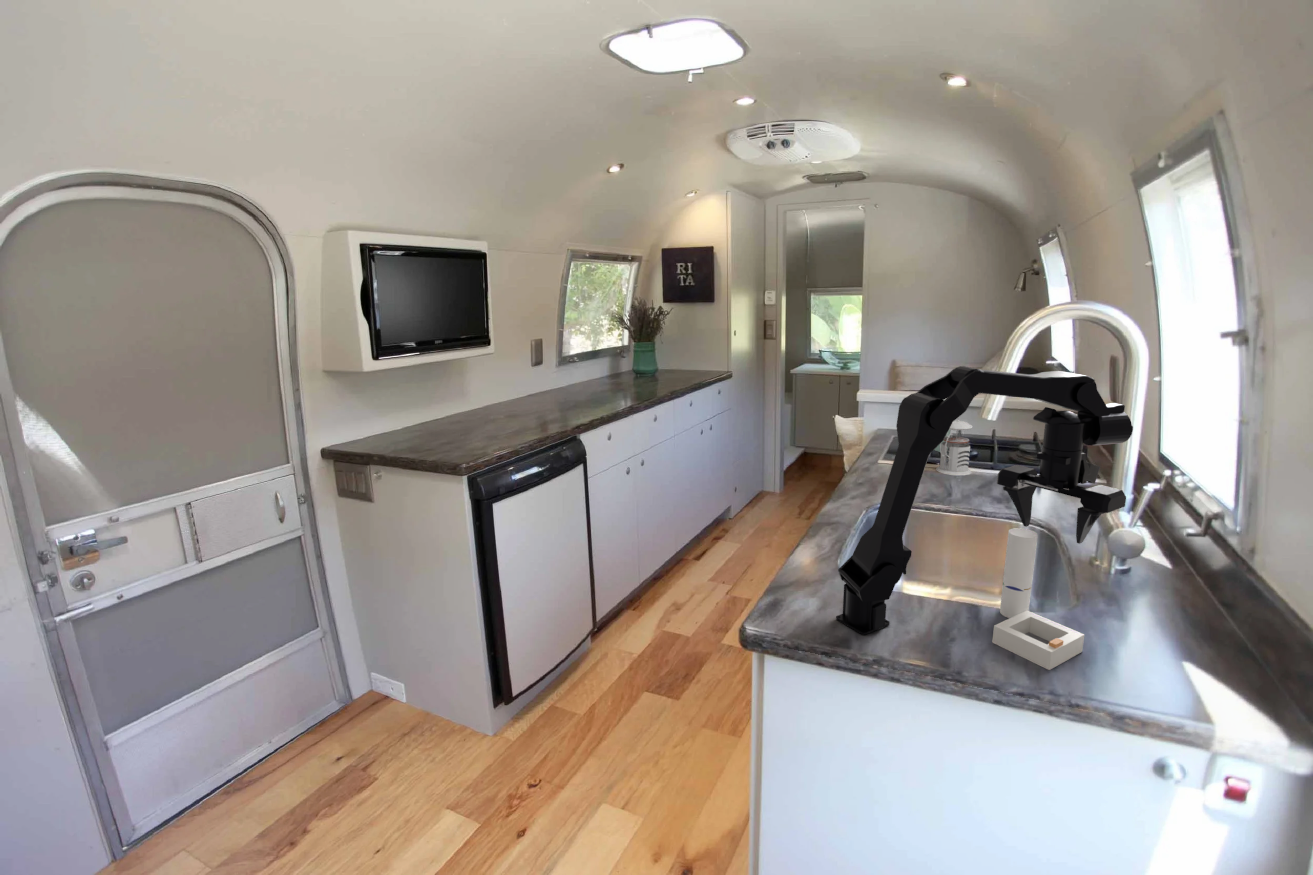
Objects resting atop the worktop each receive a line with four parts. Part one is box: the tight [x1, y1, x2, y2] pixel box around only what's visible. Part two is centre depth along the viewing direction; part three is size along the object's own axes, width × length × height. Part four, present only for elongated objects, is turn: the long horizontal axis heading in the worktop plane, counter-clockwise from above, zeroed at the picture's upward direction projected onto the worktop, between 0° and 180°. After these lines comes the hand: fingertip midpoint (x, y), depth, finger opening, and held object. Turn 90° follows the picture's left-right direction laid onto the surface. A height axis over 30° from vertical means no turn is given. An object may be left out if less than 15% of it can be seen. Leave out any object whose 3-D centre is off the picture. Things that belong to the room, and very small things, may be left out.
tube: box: [999, 527, 1039, 619], centre depth 111 cm, size 4×4×15 cm
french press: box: [935, 416, 973, 476], centre depth 191 cm, size 10×12×25 cm
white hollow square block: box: [991, 610, 1085, 671], centre depth 102 cm, size 9×9×4 cm
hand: (1052, 534), depth 113 cm, fingers open, 9 cm apart
